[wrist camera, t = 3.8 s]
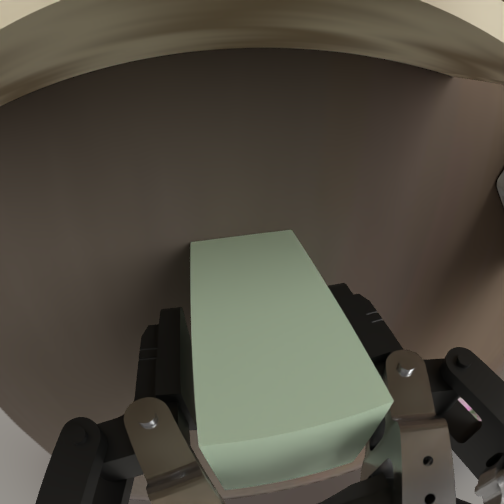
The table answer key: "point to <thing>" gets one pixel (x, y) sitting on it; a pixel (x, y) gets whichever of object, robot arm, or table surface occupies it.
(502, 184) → the coffee box
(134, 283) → the table surface
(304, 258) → the peg
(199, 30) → the box
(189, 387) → the robot arm
